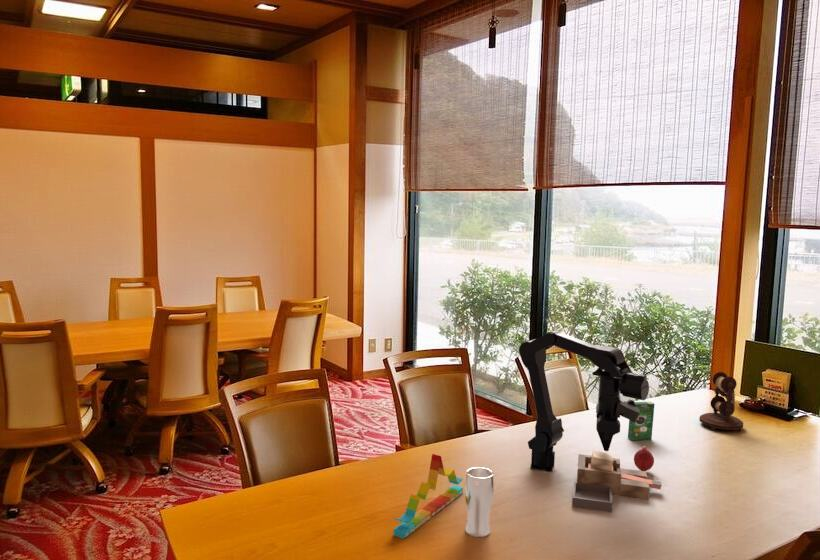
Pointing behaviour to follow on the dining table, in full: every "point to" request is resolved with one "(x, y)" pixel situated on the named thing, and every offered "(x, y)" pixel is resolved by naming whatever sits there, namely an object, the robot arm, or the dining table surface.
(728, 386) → the brown roll holder stand
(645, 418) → the coffee box
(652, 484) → the lever
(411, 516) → the chart
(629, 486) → the brown wooden lever base
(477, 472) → the beer glass
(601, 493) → the tray
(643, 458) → the onion
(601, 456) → the block
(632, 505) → the dining table surface
